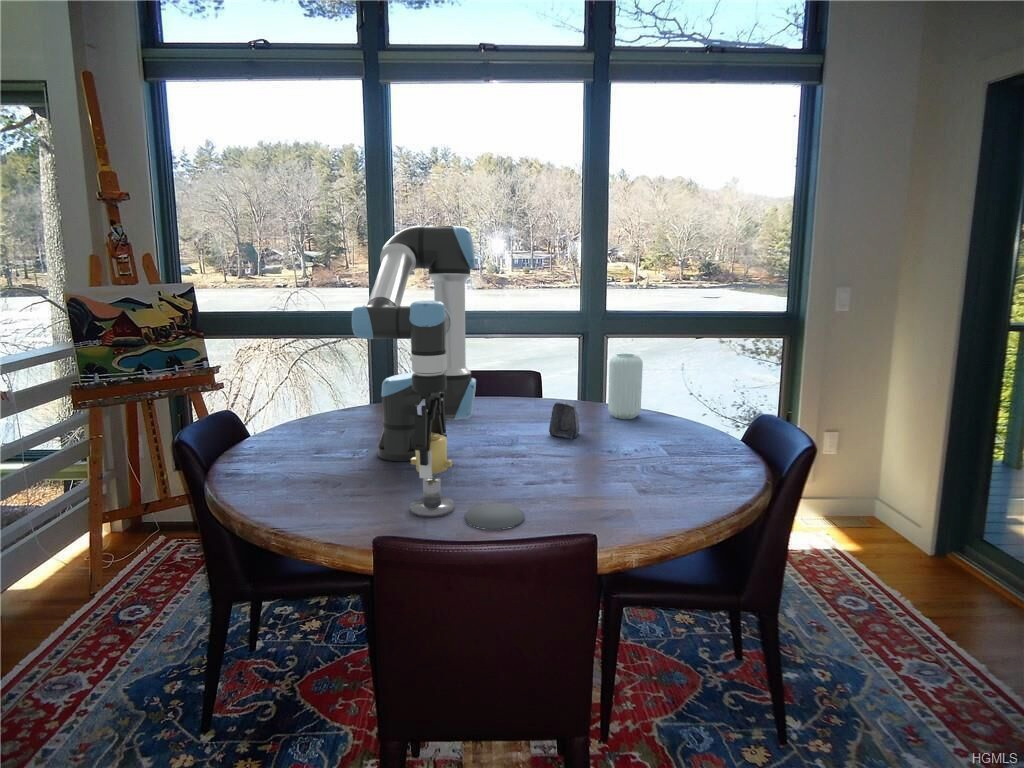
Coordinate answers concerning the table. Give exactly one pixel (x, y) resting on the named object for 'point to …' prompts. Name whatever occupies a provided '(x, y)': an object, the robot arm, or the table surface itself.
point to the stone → (564, 420)
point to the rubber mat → (494, 516)
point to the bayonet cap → (436, 454)
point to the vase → (625, 386)
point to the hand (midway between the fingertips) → (431, 471)
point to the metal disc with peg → (432, 501)
